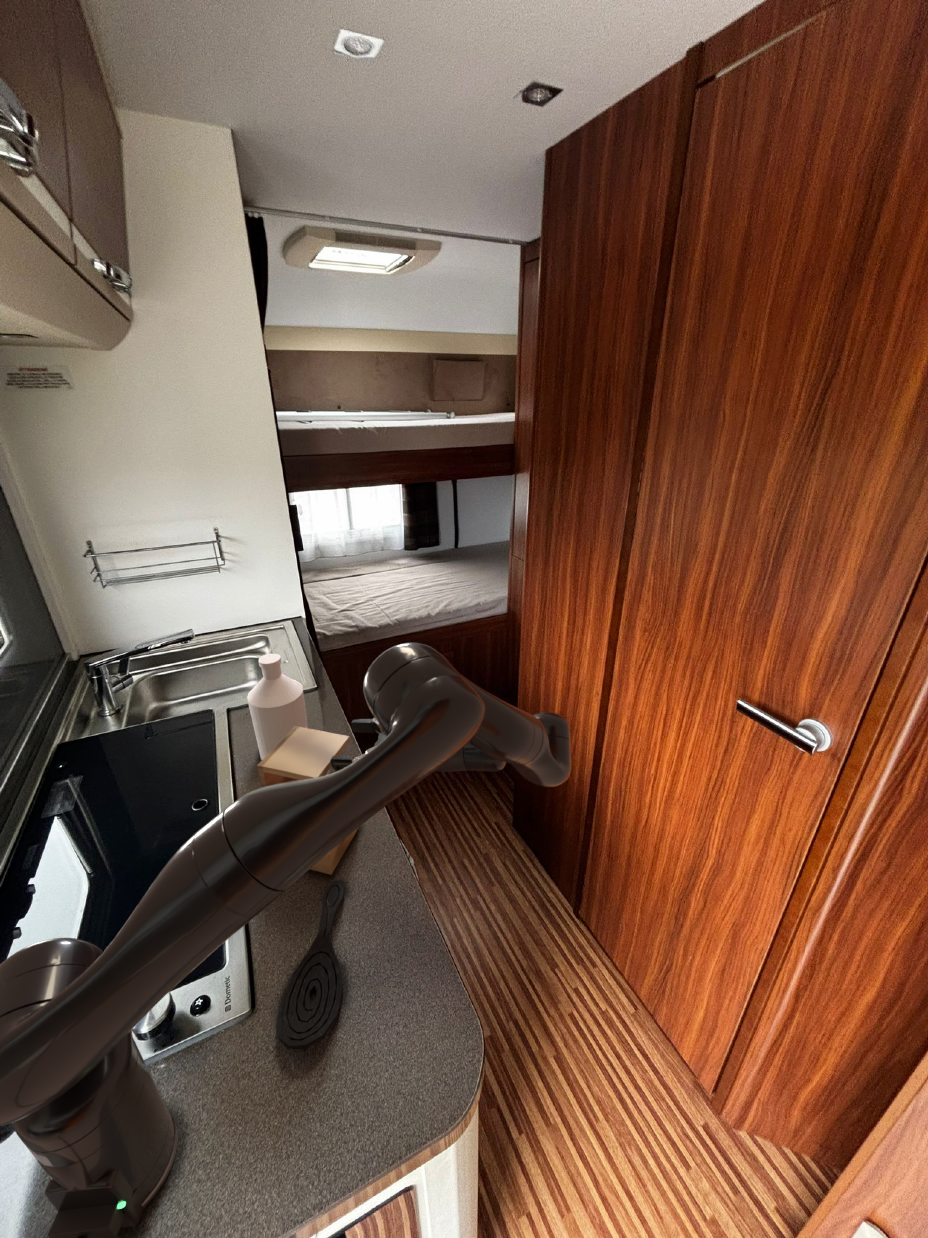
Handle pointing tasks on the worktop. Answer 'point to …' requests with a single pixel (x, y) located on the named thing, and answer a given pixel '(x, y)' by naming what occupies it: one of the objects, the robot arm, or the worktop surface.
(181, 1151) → the worktop surface
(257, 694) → the bottle
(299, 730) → the shelf unit
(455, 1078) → the worktop surface
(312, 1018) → the hairbrush
